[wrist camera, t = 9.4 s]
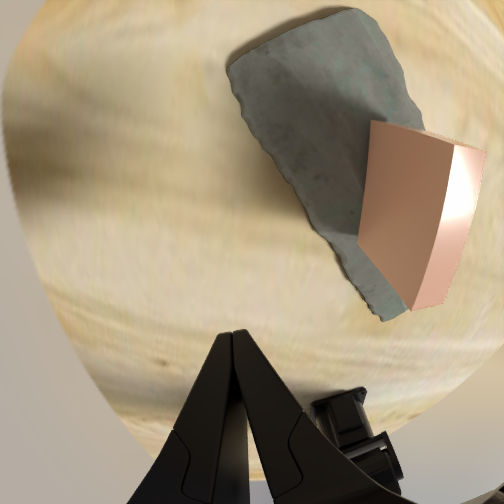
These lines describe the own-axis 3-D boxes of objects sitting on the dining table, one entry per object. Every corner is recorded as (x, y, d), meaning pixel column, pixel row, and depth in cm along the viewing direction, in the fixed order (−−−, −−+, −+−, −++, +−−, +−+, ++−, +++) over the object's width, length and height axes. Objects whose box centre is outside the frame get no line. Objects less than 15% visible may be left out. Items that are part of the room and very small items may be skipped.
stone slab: (345, 7, 12) (205, 80, 13) (371, -5, 9) (210, 72, 10) (446, 255, 22) (368, 323, 23) (465, 269, 20) (384, 343, 21)
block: (402, 124, 12) (486, 152, 7) (385, 240, 16) (442, 303, 11) (370, 119, 12) (454, 144, 7) (356, 243, 16) (411, 311, 11)
